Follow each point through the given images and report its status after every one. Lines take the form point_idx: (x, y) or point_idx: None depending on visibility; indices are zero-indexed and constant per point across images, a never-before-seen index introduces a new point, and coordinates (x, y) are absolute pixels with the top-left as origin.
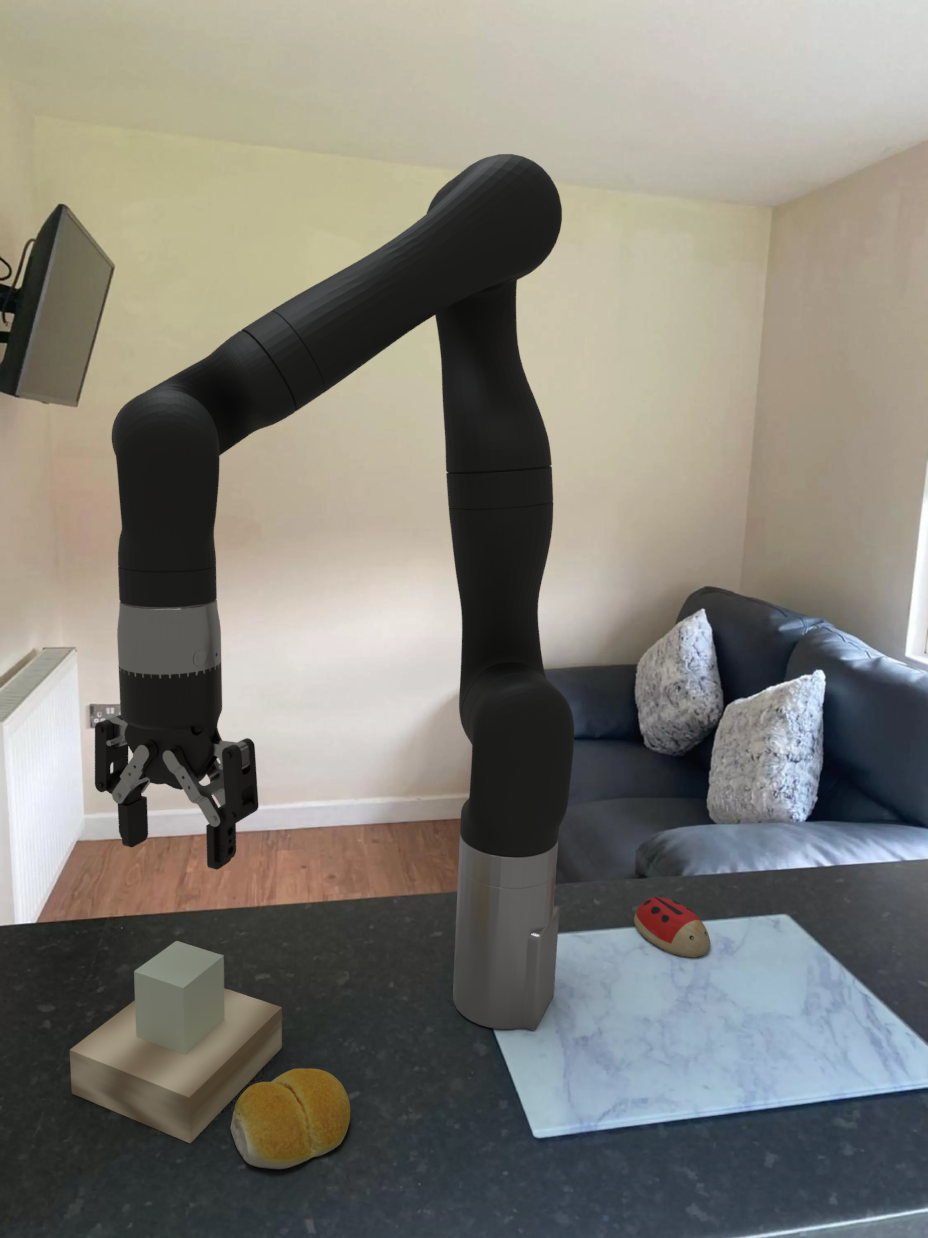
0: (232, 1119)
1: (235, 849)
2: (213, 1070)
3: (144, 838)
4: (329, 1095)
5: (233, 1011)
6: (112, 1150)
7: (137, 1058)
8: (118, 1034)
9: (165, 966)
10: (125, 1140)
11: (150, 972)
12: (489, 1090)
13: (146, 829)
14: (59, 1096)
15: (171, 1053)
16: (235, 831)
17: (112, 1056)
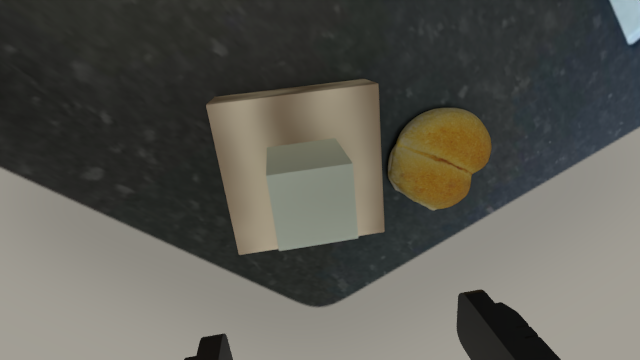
0: (394, 186)
1: (520, 318)
2: (379, 198)
3: (226, 343)
4: (483, 150)
5: (334, 122)
6: (324, 245)
7: None
8: (258, 216)
9: (303, 222)
10: None
11: (298, 241)
12: (581, 11)
13: (222, 354)
14: None
15: None
16: (555, 355)
17: None
